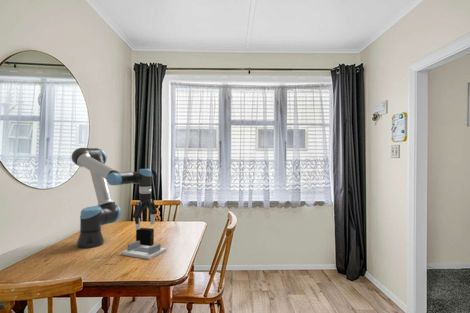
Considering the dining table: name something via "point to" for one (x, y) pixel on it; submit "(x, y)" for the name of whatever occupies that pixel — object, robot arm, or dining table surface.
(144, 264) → the dining table surface
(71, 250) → the dining table surface
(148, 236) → the electronic device
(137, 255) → the mounting board
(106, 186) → the robot arm
